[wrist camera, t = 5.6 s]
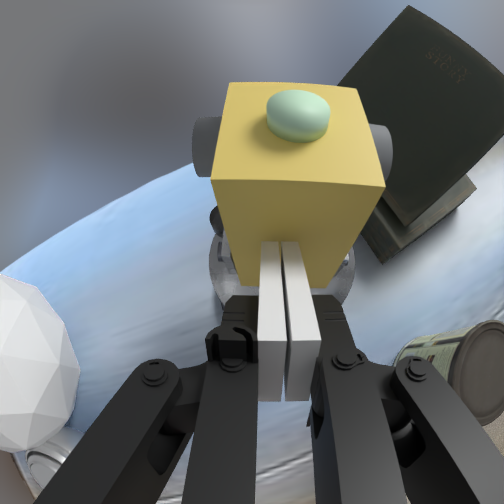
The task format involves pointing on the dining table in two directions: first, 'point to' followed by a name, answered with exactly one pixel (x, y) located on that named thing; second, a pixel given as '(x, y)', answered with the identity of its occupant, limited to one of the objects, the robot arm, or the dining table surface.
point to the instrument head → (292, 172)
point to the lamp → (35, 380)
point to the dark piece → (425, 123)
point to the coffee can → (468, 365)
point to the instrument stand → (230, 285)
